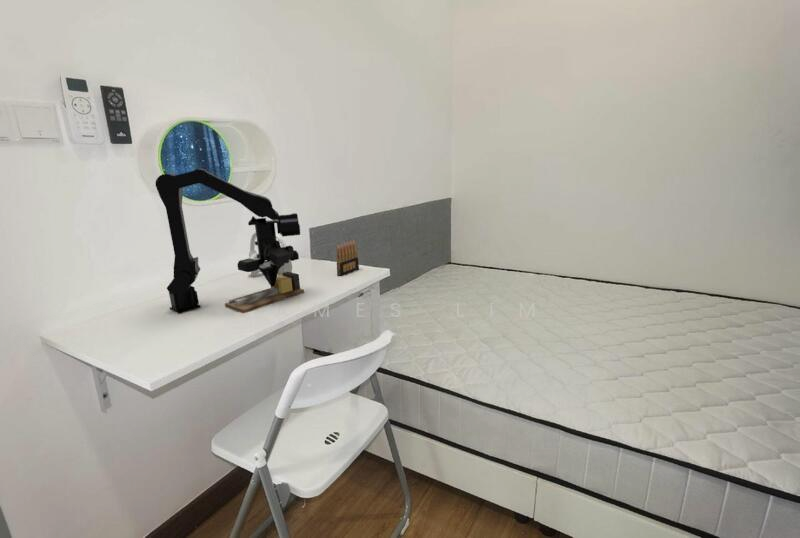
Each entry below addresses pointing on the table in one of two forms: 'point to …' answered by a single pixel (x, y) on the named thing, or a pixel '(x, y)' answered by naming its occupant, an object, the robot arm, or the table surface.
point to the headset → (253, 255)
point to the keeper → (283, 284)
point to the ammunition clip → (347, 259)
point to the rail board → (263, 301)
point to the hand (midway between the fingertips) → (272, 286)
